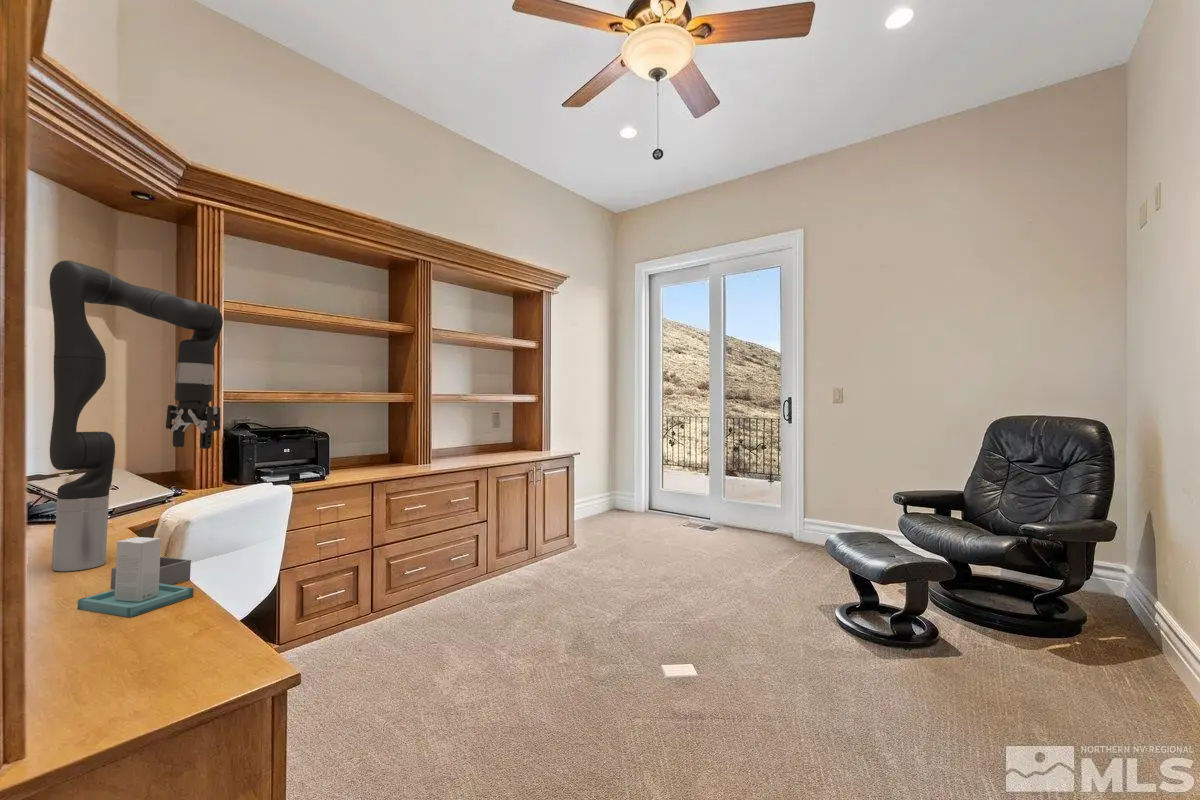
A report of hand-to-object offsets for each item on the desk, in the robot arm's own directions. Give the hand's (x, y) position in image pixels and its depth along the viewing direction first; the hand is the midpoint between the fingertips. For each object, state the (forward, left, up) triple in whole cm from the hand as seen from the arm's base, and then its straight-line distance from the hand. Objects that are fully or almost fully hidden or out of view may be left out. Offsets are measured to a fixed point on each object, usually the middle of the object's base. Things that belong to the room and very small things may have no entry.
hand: (191, 447), depth 129 cm
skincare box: (+12, -19, -30) cm, 37 cm away
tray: (+12, -19, -30) cm, 38 cm away
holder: (+3, -10, -30) cm, 32 cm away
